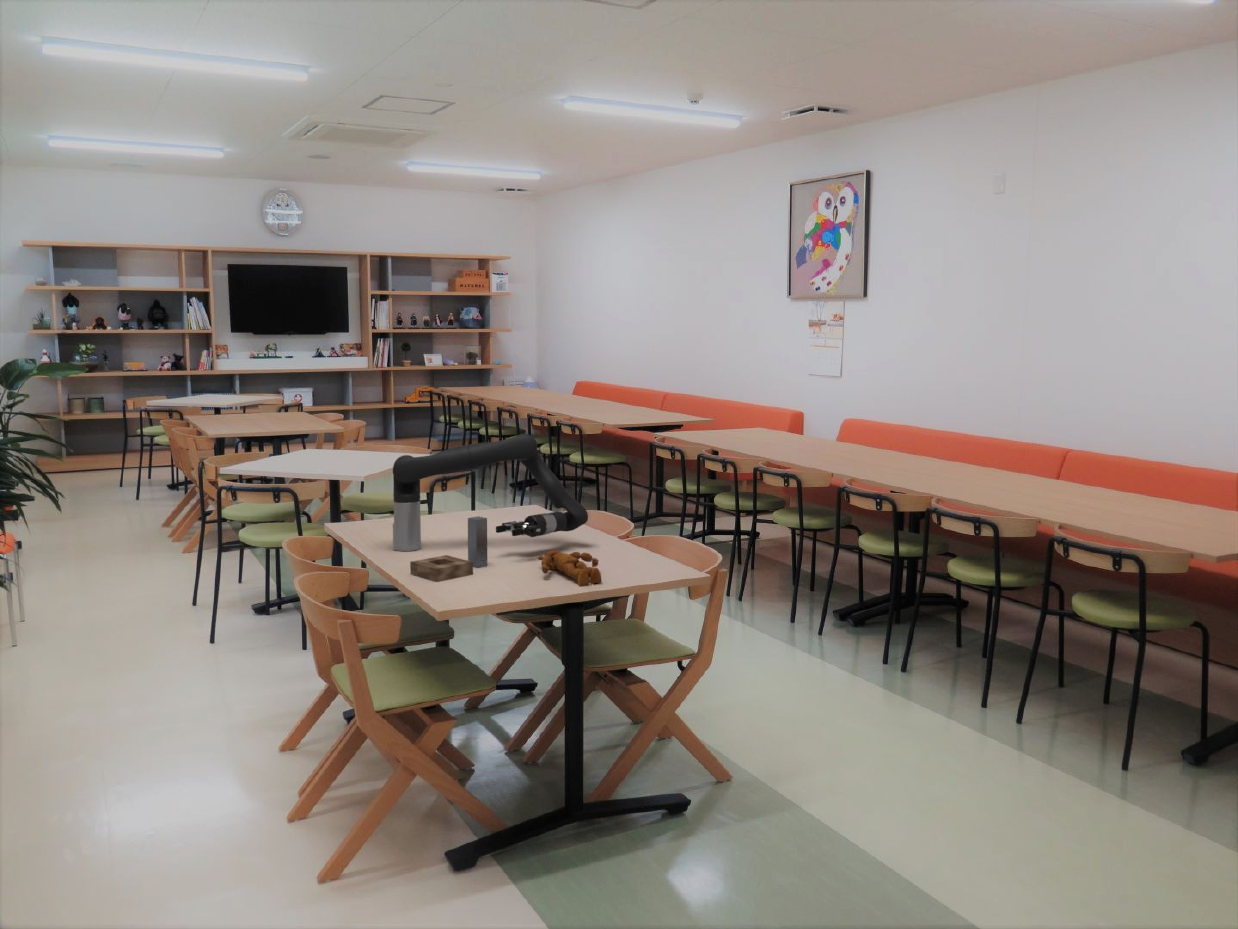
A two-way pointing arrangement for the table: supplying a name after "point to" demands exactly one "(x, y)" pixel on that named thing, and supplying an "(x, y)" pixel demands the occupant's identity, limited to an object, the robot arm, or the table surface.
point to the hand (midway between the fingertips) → (504, 531)
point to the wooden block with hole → (441, 568)
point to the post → (477, 541)
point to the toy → (572, 566)
